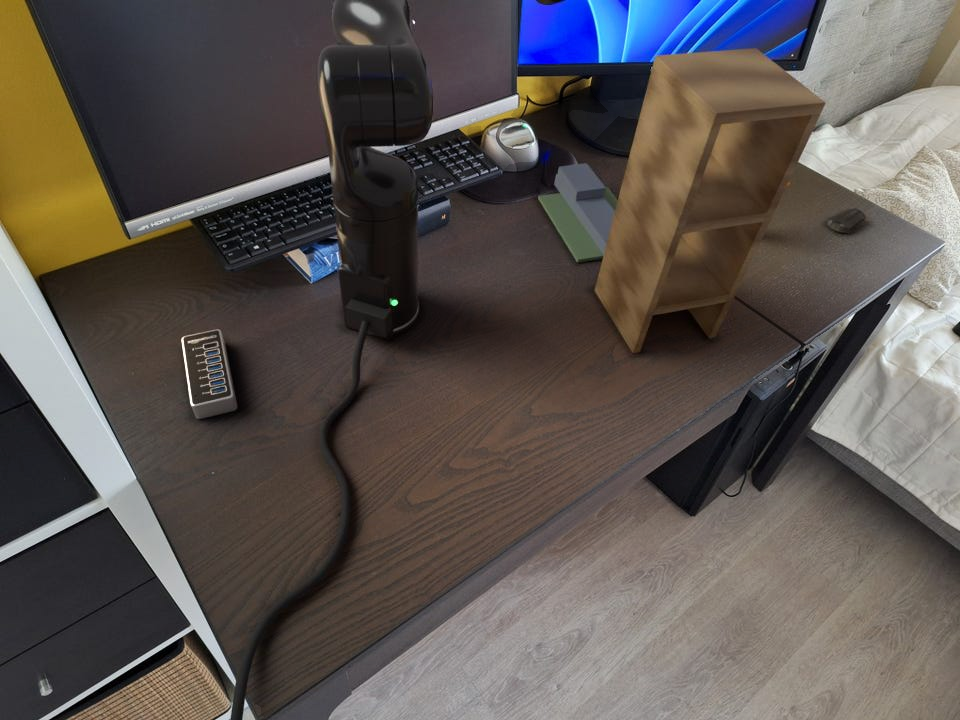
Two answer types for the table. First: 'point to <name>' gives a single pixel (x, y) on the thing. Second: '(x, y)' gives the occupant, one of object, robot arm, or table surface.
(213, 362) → the multiport hub
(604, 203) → the grey stepped plank
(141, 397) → the table surface
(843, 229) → the dark grey rounded device
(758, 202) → the open shelf unit
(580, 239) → the mat
